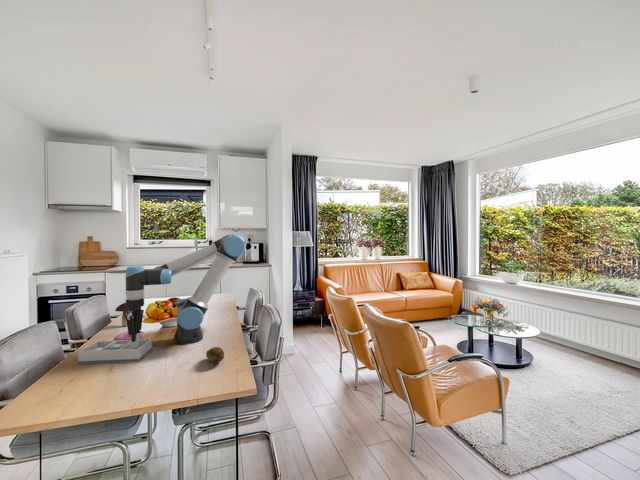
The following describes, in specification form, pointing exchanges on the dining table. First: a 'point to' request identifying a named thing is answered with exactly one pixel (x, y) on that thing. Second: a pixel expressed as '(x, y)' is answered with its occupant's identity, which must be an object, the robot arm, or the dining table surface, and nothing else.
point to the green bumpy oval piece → (215, 354)
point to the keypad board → (114, 352)
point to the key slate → (116, 346)
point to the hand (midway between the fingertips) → (134, 347)
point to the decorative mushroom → (125, 313)
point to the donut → (127, 336)
